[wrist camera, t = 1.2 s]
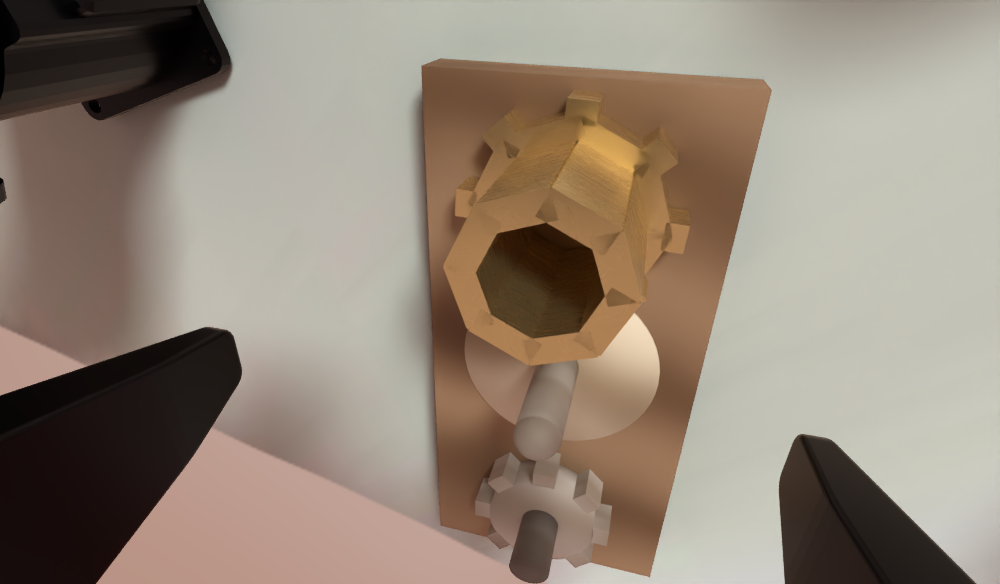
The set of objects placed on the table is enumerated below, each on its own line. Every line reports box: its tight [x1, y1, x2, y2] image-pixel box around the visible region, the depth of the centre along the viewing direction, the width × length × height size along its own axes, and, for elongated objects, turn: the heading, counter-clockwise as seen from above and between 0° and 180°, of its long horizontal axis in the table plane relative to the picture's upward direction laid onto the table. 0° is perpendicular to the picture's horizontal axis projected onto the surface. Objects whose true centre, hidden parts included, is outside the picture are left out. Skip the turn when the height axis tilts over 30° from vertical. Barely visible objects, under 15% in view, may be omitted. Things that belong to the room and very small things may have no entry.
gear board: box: [422, 59, 772, 583], centre depth 18 cm, size 19×9×6 cm, turn 179°
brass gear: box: [443, 90, 690, 366], centre depth 14 cm, size 6×6×5 cm
